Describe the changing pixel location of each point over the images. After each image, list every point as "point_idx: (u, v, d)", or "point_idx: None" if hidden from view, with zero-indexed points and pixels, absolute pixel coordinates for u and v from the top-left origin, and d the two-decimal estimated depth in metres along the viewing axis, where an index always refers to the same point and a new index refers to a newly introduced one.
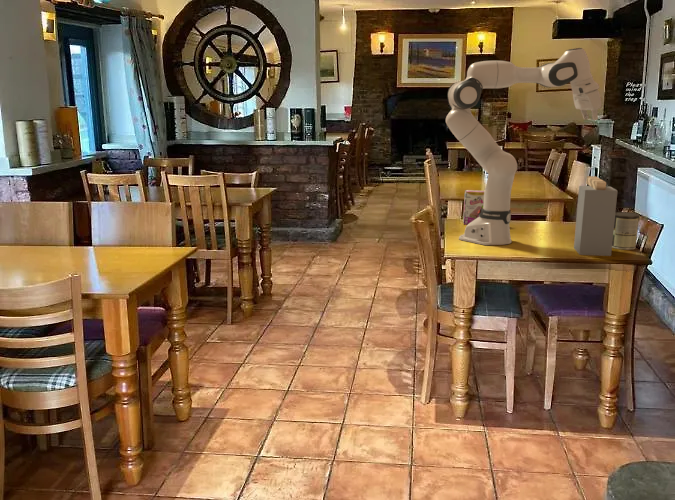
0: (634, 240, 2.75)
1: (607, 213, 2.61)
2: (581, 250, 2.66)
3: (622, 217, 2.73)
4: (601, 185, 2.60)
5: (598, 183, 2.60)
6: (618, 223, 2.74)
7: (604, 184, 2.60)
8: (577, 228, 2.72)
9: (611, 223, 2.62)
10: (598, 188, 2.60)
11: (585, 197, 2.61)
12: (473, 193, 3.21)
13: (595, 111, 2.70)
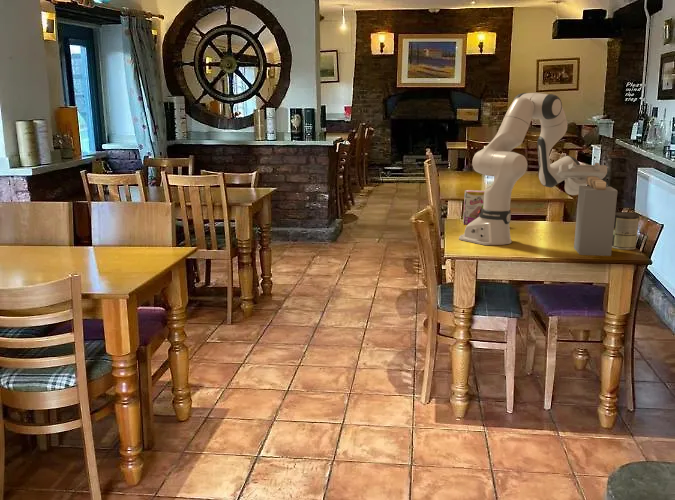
0: (634, 240, 2.75)
1: (607, 213, 2.61)
2: (581, 250, 2.66)
3: (622, 217, 2.73)
4: (601, 185, 2.60)
5: (598, 183, 2.60)
6: (618, 223, 2.74)
7: (604, 184, 2.60)
8: (577, 228, 2.72)
9: (611, 223, 2.62)
10: (598, 188, 2.60)
11: (585, 197, 2.61)
12: (473, 193, 3.21)
13: (599, 167, 2.91)
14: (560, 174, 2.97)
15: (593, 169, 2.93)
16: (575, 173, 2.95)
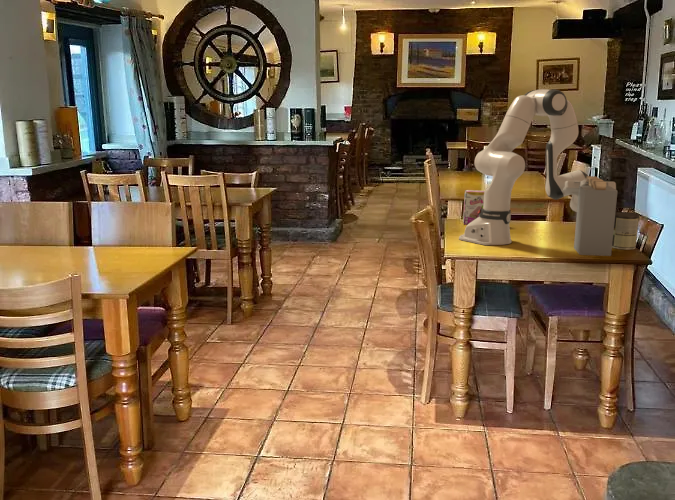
0: (634, 240, 2.75)
1: (607, 213, 2.61)
2: (581, 250, 2.66)
3: (622, 217, 2.73)
4: (601, 185, 2.60)
5: (598, 183, 2.60)
6: (618, 223, 2.74)
7: (604, 184, 2.60)
8: (577, 228, 2.72)
9: (611, 223, 2.62)
10: (598, 188, 2.60)
11: (585, 197, 2.61)
12: (473, 193, 3.21)
13: None
14: (566, 190, 2.81)
15: None
16: None
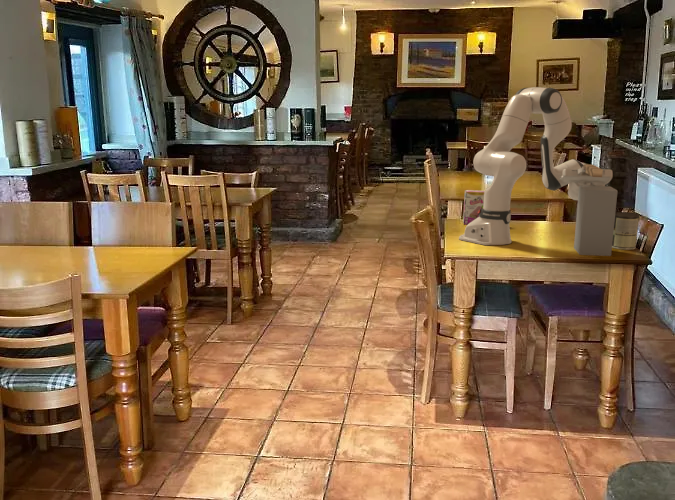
0: (634, 240, 2.75)
1: (607, 213, 2.61)
2: (581, 250, 2.66)
3: (622, 217, 2.73)
4: (598, 172, 2.67)
5: (595, 170, 2.67)
6: (618, 223, 2.74)
7: (601, 171, 2.66)
8: (577, 228, 2.72)
9: (611, 223, 2.62)
10: (595, 175, 2.67)
11: (585, 197, 2.61)
12: (473, 193, 3.21)
13: None
14: (564, 178, 2.88)
15: None
16: (579, 177, 2.86)
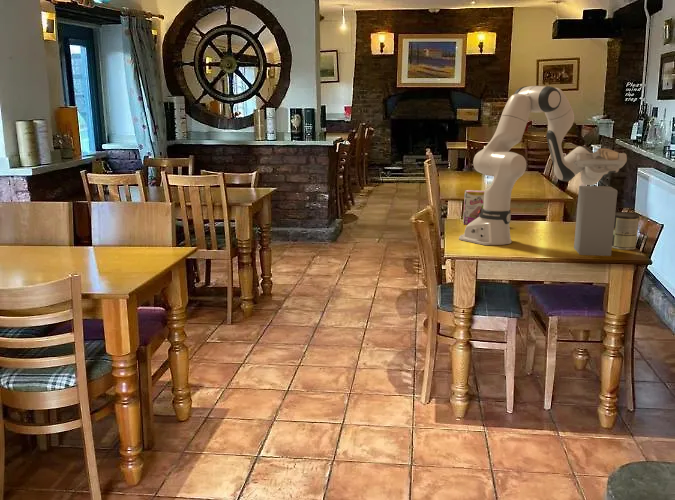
0: (634, 240, 2.75)
1: (607, 213, 2.61)
2: (581, 250, 2.66)
3: (622, 217, 2.73)
4: (613, 155, 2.67)
5: (610, 153, 2.67)
6: (618, 223, 2.74)
7: (616, 154, 2.67)
8: (577, 228, 2.72)
9: (611, 223, 2.62)
10: (610, 158, 2.68)
11: (585, 197, 2.61)
12: (473, 193, 3.21)
13: None
14: (578, 162, 2.89)
15: None
16: (594, 161, 2.86)
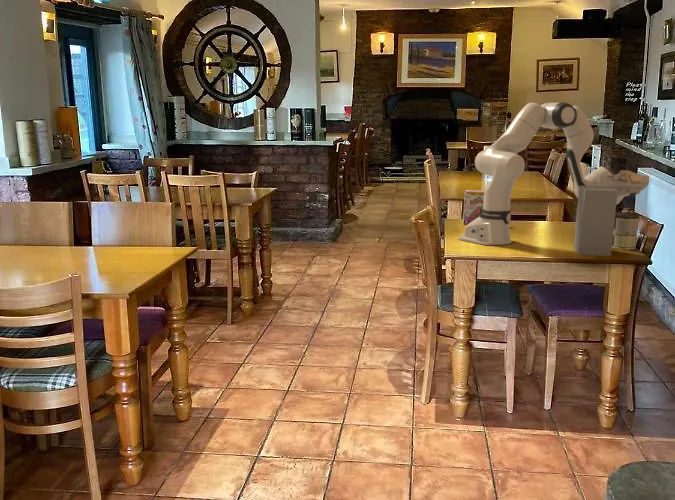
0: (634, 240, 2.75)
1: (607, 213, 2.61)
2: (581, 250, 2.66)
3: (622, 217, 2.73)
4: (636, 179, 2.64)
5: (633, 177, 2.64)
6: (618, 223, 2.74)
7: (639, 178, 2.64)
8: (577, 228, 2.72)
9: (611, 223, 2.62)
10: (633, 182, 2.64)
11: (585, 197, 2.61)
12: (473, 193, 3.21)
13: None
14: (599, 185, 2.85)
15: None
16: (615, 184, 2.83)
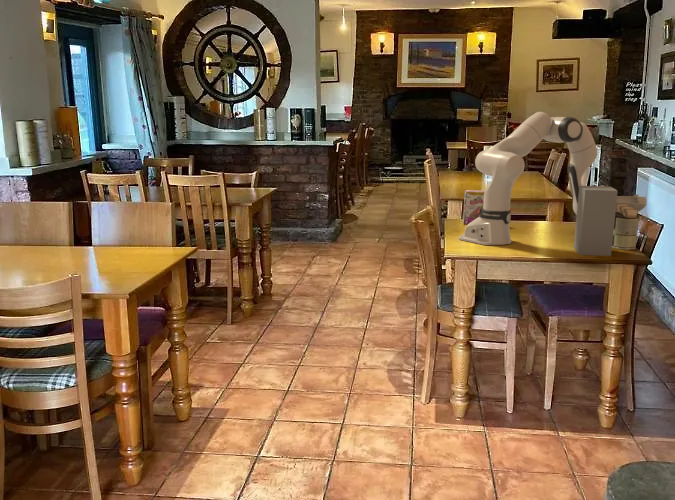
0: (634, 240, 2.75)
1: (607, 213, 2.61)
2: (581, 250, 2.66)
3: (622, 217, 2.73)
4: (632, 213, 2.67)
5: (629, 211, 2.67)
6: (618, 223, 2.74)
7: (635, 212, 2.67)
8: (577, 228, 2.72)
9: (611, 223, 2.62)
10: (629, 216, 2.68)
11: (585, 197, 2.61)
12: (473, 193, 3.21)
13: (638, 199, 2.81)
14: None
15: (631, 201, 2.83)
16: None
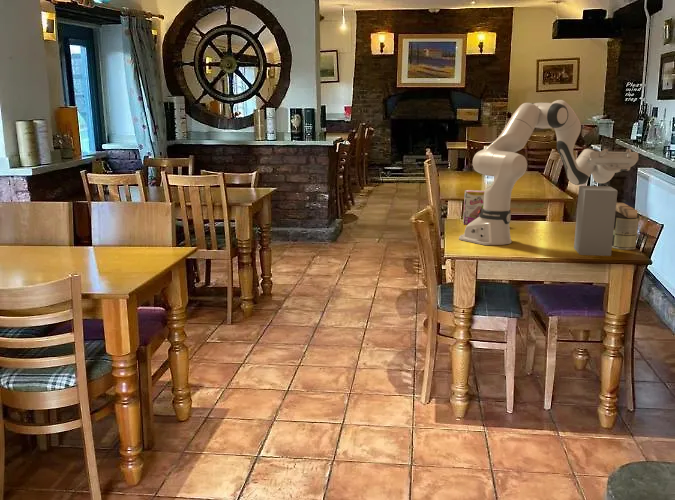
0: (634, 240, 2.75)
1: (607, 213, 2.61)
2: (581, 250, 2.66)
3: (622, 217, 2.73)
4: (633, 213, 2.67)
5: (630, 211, 2.67)
6: (618, 223, 2.74)
7: (635, 212, 2.67)
8: (577, 228, 2.72)
9: (611, 223, 2.62)
10: (630, 216, 2.68)
11: (585, 197, 2.61)
12: (473, 193, 3.21)
13: (631, 154, 2.92)
14: (591, 161, 2.98)
15: (624, 156, 2.94)
16: (606, 160, 2.96)
